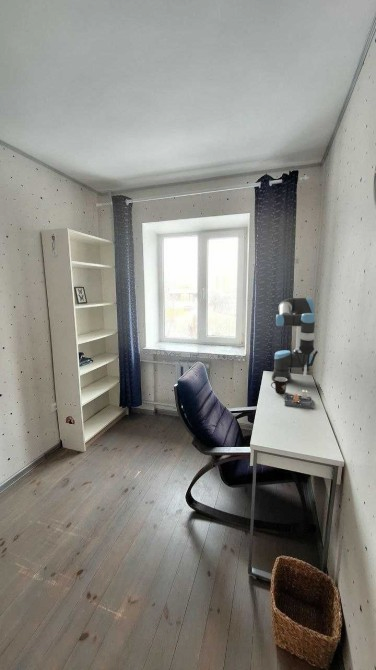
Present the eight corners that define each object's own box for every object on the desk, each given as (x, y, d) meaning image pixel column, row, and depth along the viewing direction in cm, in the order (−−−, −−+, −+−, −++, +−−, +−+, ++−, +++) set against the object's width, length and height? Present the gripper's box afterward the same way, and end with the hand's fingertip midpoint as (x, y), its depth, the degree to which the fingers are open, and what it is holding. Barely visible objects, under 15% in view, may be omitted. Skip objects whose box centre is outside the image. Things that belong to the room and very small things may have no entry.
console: (285, 396, 185) (285, 392, 184) (311, 399, 179) (311, 395, 179) (284, 405, 172) (284, 401, 172) (312, 409, 167) (312, 404, 166)
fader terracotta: (293, 399, 175) (293, 392, 174) (298, 400, 174) (298, 393, 173) (293, 401, 172) (293, 394, 171) (298, 402, 171) (298, 395, 170)
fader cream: (301, 396, 179) (302, 389, 178) (306, 396, 178) (307, 389, 177) (301, 398, 176) (302, 391, 175) (306, 398, 175) (307, 391, 174)
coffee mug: (285, 390, 196) (285, 377, 194) (288, 395, 188) (288, 381, 186) (268, 390, 197) (269, 377, 195) (271, 394, 189) (271, 381, 187)
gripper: (295, 340, 162) (293, 377, 167) (319, 341, 157) (316, 379, 162) (295, 337, 169) (293, 373, 174) (318, 338, 164) (316, 375, 169)
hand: (304, 376), depth 168 cm, fingers closed
